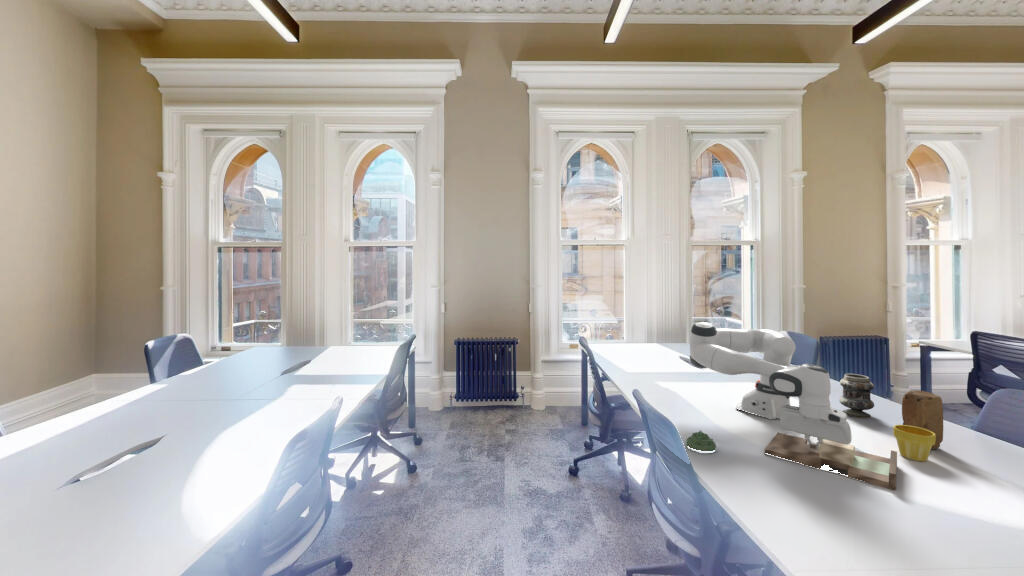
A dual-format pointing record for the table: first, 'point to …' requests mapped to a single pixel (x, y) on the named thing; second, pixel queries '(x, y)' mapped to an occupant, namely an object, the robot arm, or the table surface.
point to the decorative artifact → (701, 442)
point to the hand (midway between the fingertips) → (813, 448)
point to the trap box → (862, 467)
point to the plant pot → (914, 441)
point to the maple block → (837, 452)
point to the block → (924, 413)
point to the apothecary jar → (856, 395)
